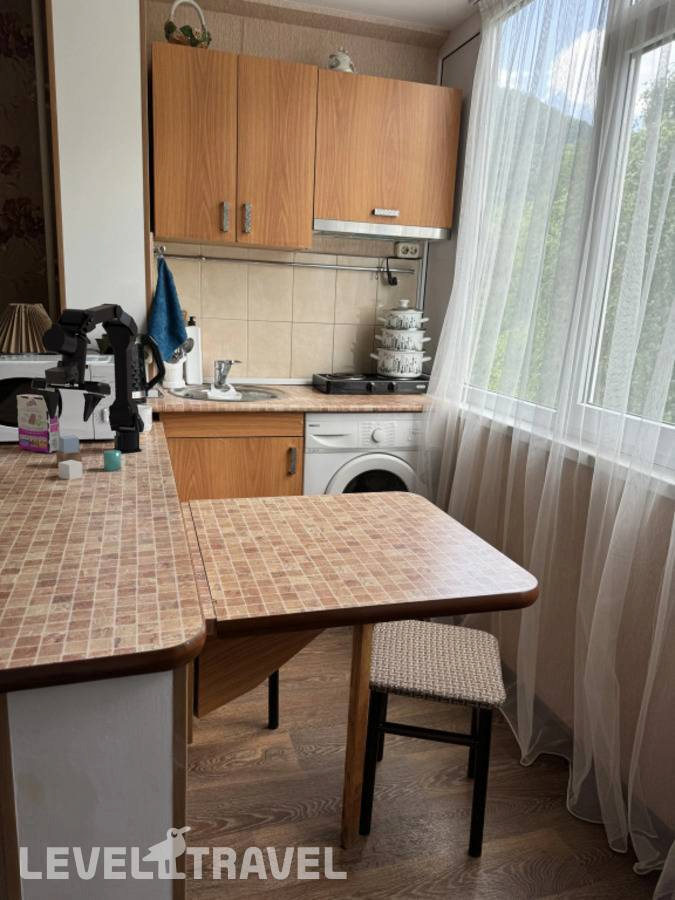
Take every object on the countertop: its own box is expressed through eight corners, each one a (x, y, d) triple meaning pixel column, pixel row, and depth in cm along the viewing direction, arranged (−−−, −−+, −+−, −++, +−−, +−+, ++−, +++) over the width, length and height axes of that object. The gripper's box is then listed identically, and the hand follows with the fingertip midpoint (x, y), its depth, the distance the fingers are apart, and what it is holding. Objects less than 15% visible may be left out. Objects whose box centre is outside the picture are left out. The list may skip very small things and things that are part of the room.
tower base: (75, 462, 181) (74, 448, 180) (81, 466, 177) (81, 452, 176) (56, 464, 177) (56, 450, 177) (63, 468, 174) (62, 454, 173)
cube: (71, 474, 169) (71, 459, 168) (82, 477, 167) (82, 462, 166) (58, 477, 165) (58, 462, 164) (69, 480, 163) (69, 465, 163)
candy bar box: (61, 450, 192) (59, 396, 189) (49, 454, 188) (47, 398, 184) (30, 446, 196) (28, 393, 192) (18, 449, 191) (15, 394, 187)
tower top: (73, 449, 179) (73, 435, 178) (79, 451, 176) (78, 437, 176) (59, 450, 177) (58, 436, 176) (64, 453, 174) (63, 439, 173)
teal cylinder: (116, 466, 179) (116, 449, 177) (123, 470, 175) (123, 452, 174) (101, 468, 176) (101, 451, 174) (108, 472, 172) (107, 454, 171)
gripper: (19, 351, 155) (13, 415, 155) (90, 355, 152) (84, 420, 152) (48, 358, 166) (42, 418, 166) (114, 362, 163) (108, 423, 163)
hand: (68, 420), depth 162 cm, fingers open, 9 cm apart
